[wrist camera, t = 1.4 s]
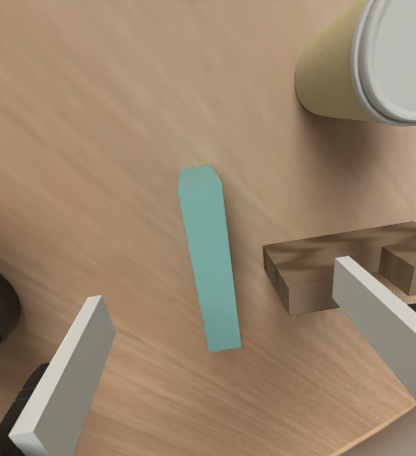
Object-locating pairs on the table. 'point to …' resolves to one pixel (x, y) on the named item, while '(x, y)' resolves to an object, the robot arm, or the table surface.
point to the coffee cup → (363, 65)
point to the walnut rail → (325, 261)
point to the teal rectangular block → (210, 254)
